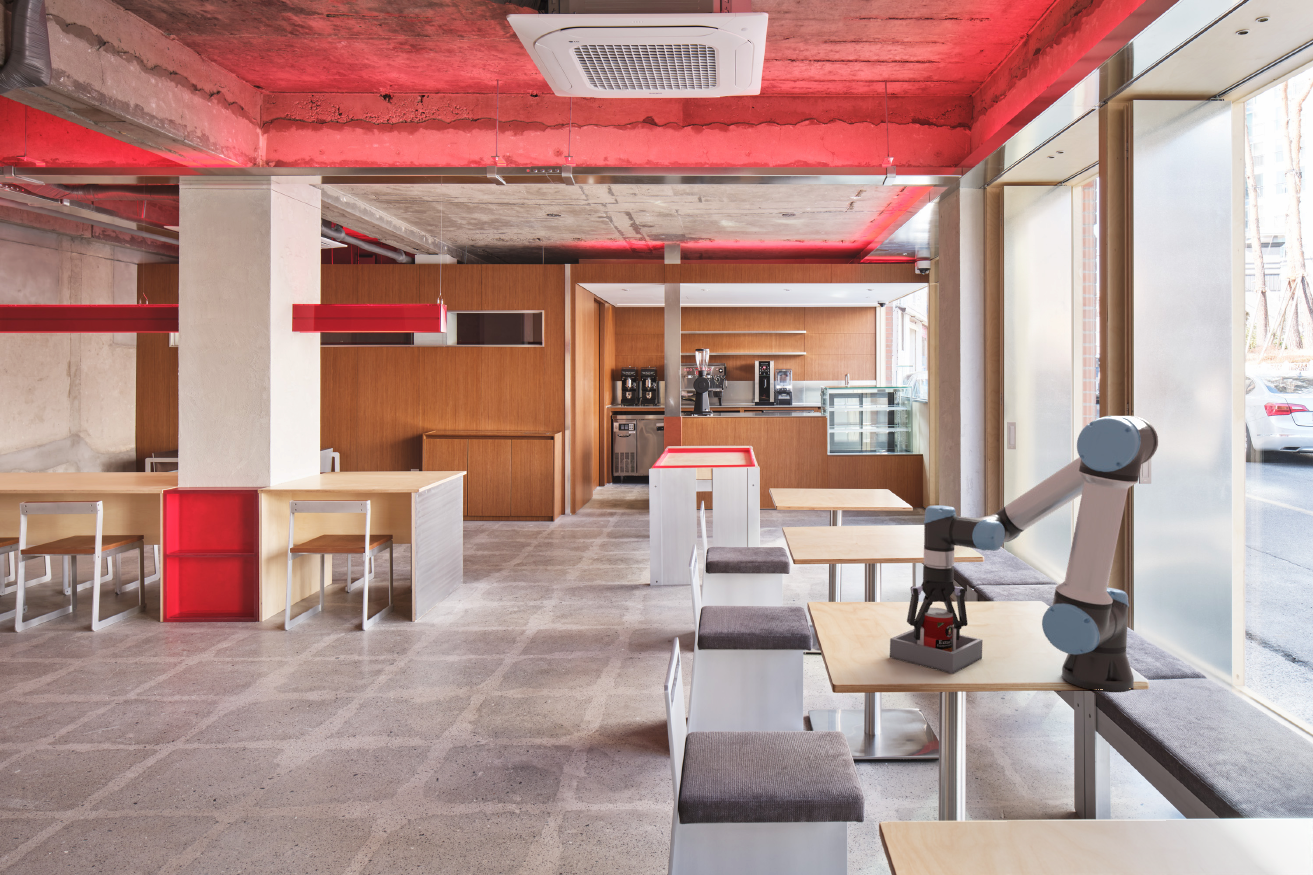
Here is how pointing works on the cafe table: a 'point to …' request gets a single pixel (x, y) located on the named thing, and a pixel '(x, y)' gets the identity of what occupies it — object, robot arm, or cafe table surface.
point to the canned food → (938, 629)
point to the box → (936, 653)
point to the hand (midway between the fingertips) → (936, 651)
